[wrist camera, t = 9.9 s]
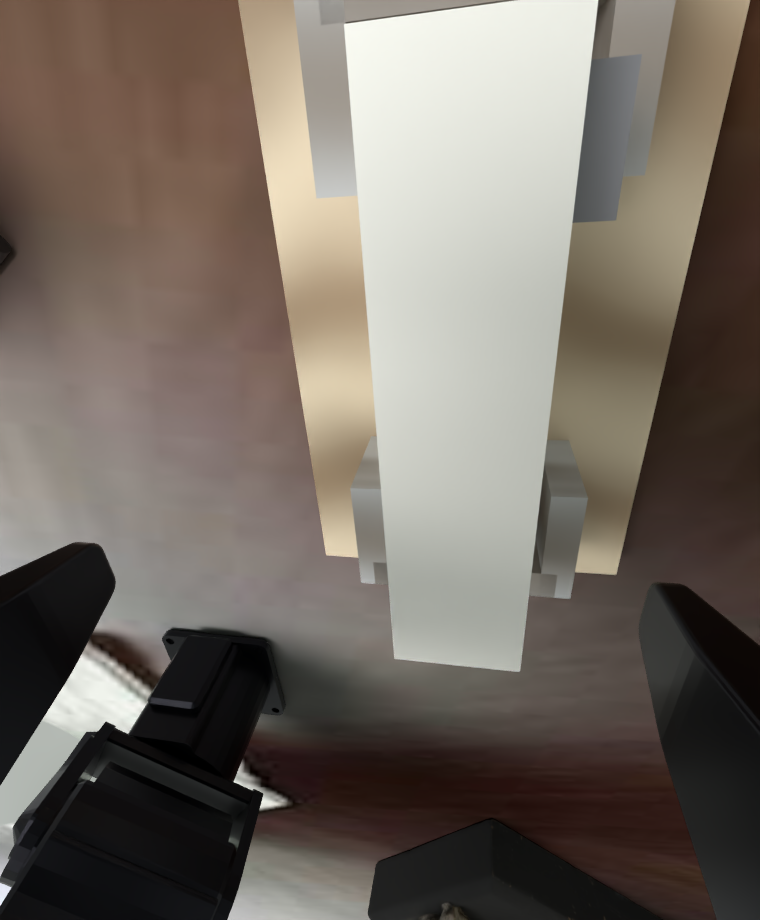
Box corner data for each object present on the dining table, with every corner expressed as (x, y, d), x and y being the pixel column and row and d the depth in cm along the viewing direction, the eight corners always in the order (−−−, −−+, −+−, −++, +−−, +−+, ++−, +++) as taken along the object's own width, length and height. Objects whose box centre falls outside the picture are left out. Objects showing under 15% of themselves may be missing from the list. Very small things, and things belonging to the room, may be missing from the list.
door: (527, 486, 18) (555, 675, 11) (425, 483, 19) (394, 658, 12) (567, 84, 12) (677, -23, 5) (415, 99, 13) (343, 24, 6)
